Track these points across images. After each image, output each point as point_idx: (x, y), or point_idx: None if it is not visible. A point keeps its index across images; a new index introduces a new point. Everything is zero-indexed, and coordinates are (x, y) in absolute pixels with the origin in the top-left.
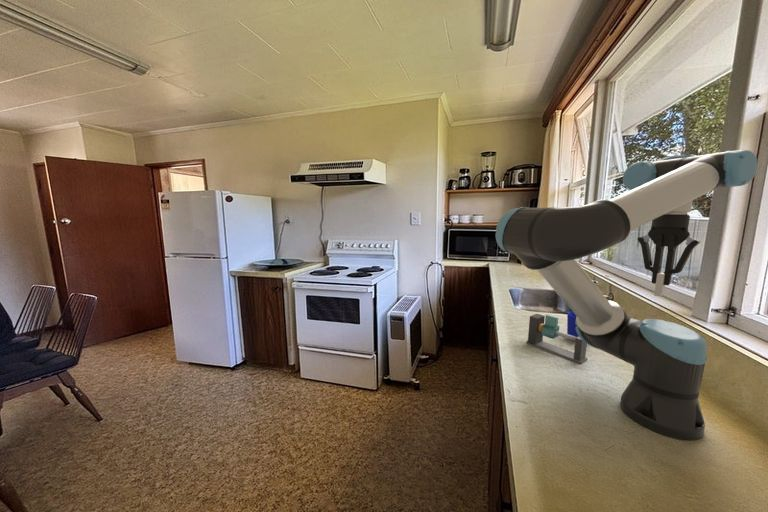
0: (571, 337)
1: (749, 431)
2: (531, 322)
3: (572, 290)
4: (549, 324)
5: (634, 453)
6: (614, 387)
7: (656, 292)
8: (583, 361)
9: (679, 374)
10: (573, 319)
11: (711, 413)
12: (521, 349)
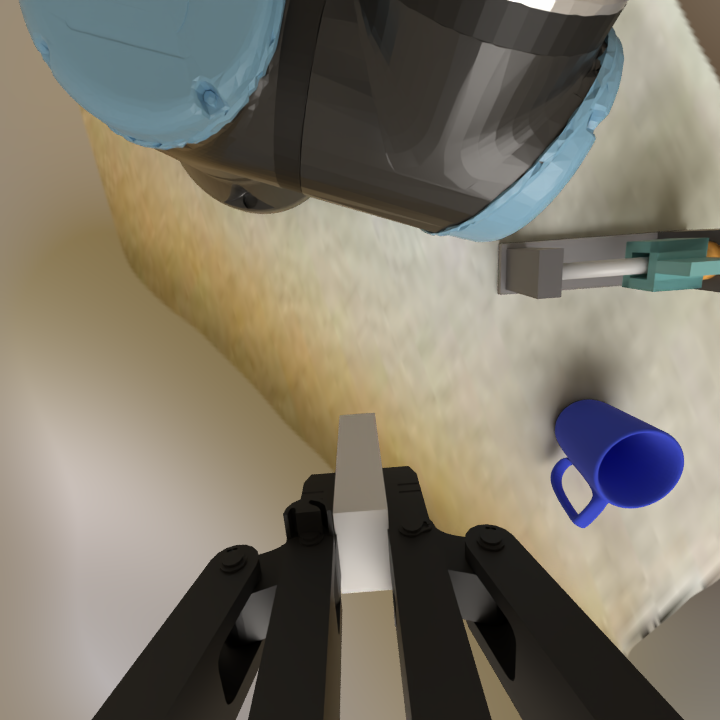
0: (579, 262)
1: (143, 263)
2: None
3: None
4: (689, 258)
5: None
6: None
7: (364, 422)
8: (499, 264)
9: None
10: (640, 424)
11: (208, 275)
12: (676, 159)
